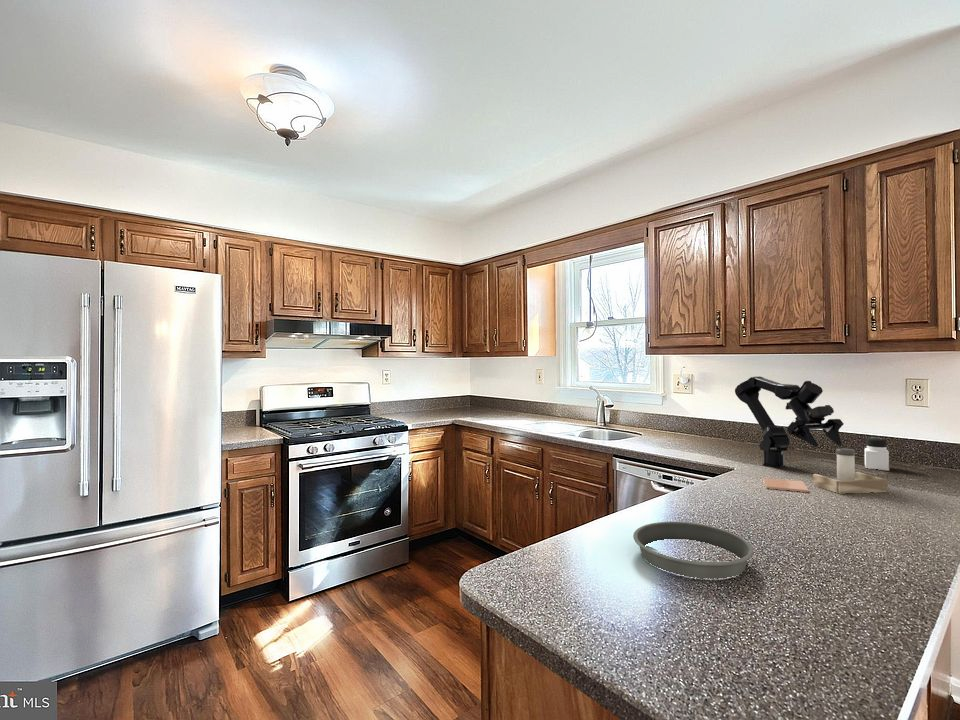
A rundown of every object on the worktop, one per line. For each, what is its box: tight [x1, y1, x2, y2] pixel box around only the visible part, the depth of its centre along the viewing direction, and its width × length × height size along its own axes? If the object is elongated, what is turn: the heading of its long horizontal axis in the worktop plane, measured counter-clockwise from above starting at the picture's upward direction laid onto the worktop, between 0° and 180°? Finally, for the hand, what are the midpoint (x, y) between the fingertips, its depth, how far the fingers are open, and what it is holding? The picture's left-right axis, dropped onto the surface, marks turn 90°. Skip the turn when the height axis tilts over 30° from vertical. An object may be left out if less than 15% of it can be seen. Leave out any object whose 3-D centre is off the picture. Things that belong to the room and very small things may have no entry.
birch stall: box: [812, 471, 889, 495], centre depth 157 cm, size 11×17×4 cm, turn 96°
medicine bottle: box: [864, 436, 891, 472], centre depth 185 cm, size 7×7×12 cm
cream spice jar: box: [835, 447, 856, 481], centre depth 159 cm, size 5×5×13 cm
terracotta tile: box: [762, 477, 810, 493], centre depth 162 cm, size 12×12×1 cm
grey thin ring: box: [632, 521, 754, 579], centre depth 105 cm, size 25×25×4 cm
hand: (828, 445), depth 165 cm, fingers open, 9 cm apart
